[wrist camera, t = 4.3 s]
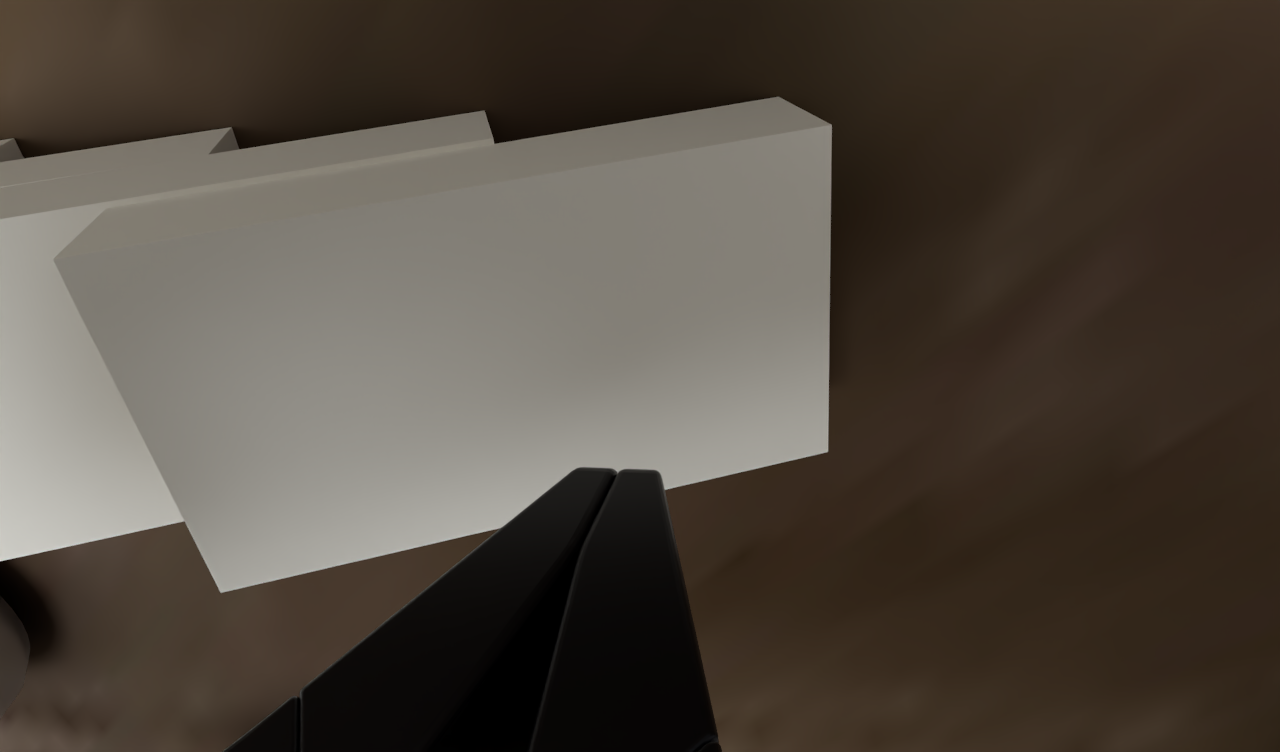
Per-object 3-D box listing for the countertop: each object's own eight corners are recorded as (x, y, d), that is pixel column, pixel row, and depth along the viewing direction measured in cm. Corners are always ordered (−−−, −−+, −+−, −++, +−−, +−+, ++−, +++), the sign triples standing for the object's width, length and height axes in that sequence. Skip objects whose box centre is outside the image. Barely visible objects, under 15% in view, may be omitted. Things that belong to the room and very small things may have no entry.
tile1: (832, 124, 10) (52, 259, 9) (828, 451, 13) (221, 592, 12) (778, 96, 12) (105, 208, 10) (784, 393, 14) (243, 512, 13)
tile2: (493, 138, 11) (-257, 261, 10) (552, 440, 14) (-38, 570, 12) (484, 110, 13) (-166, 213, 11) (539, 387, 15) (12, 497, 14)
